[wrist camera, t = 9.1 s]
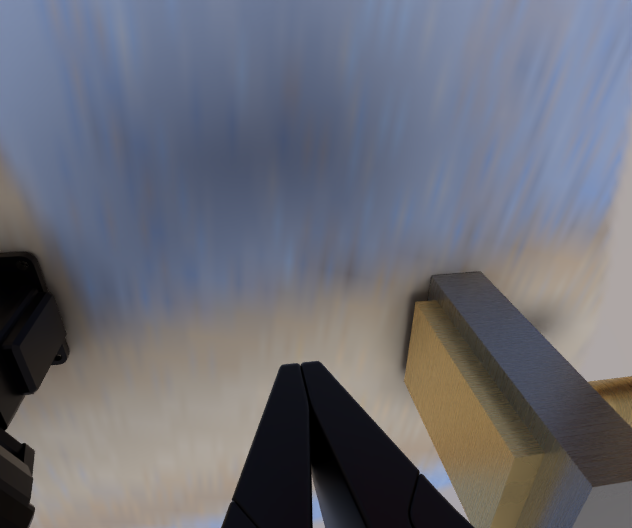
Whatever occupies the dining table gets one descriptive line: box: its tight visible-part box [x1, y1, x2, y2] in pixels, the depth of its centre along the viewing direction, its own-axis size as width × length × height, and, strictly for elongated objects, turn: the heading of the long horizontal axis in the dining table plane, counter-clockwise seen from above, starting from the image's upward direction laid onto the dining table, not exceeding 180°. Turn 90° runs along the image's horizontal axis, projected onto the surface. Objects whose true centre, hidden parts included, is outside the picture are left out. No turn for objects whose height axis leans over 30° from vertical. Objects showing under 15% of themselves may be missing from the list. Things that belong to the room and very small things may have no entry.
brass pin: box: [404, 300, 632, 528], centre depth 22 cm, size 10×6×10 cm, turn 90°
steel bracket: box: [428, 272, 632, 528], centre depth 21 cm, size 3×8×13 cm, turn 0°
